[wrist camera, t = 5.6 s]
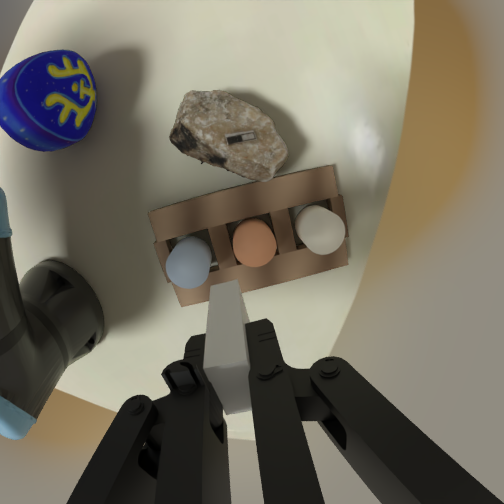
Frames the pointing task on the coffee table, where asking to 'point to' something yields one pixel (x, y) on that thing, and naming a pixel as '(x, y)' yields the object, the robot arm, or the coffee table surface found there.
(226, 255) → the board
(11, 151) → the coffee table surface
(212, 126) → the stone
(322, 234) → the button cream
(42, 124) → the ornament
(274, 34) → the coffee table surface
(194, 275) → the button slate
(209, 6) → the coffee table surface
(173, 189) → the coffee table surface
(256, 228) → the button terracotta
